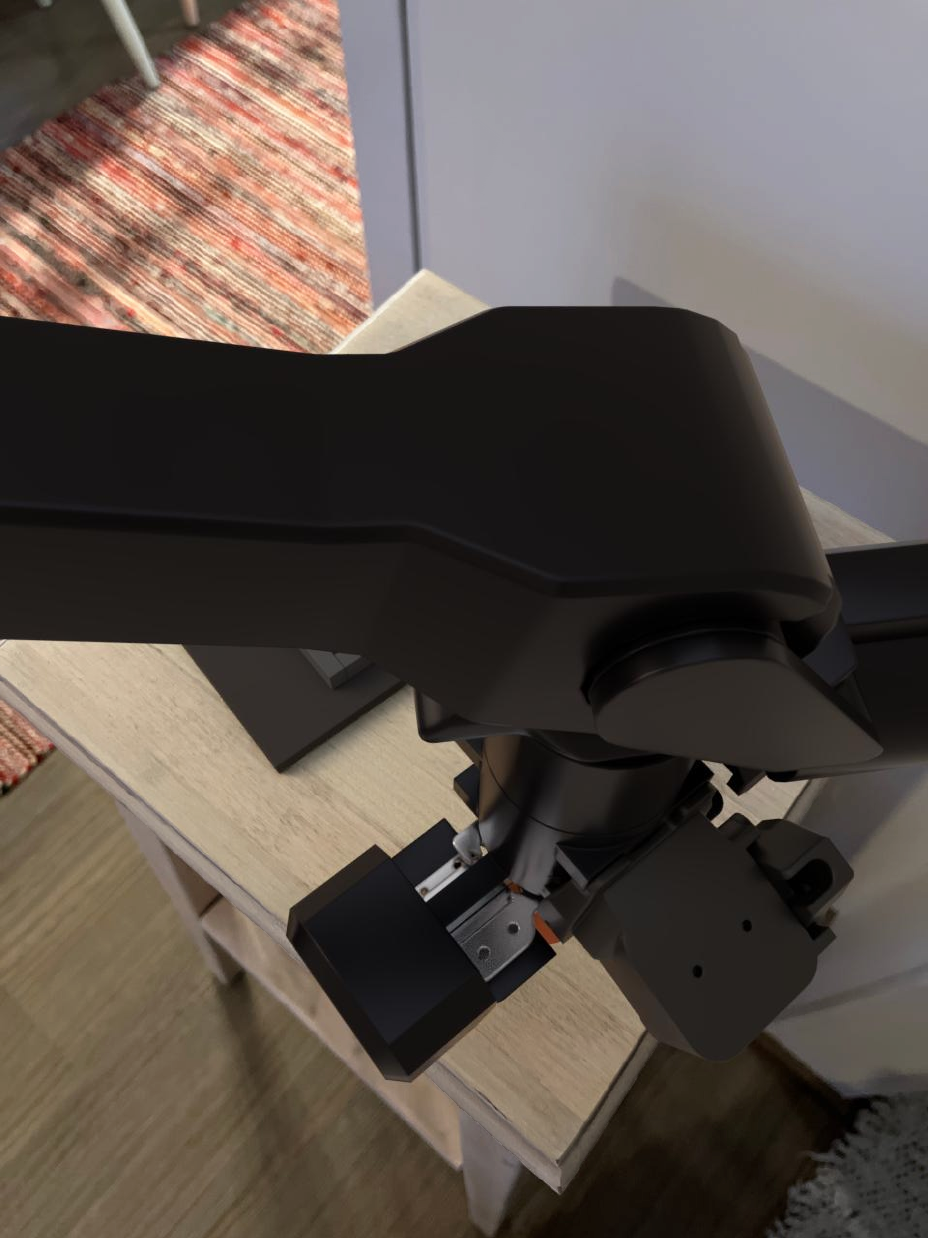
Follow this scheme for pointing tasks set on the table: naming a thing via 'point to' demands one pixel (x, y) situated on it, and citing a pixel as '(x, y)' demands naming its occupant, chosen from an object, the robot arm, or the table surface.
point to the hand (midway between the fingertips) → (542, 889)
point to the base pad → (293, 693)
